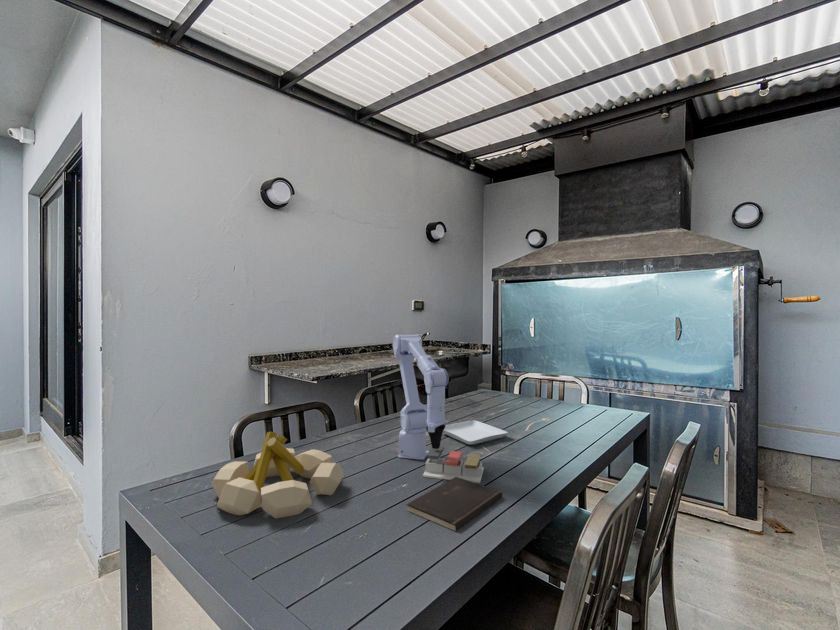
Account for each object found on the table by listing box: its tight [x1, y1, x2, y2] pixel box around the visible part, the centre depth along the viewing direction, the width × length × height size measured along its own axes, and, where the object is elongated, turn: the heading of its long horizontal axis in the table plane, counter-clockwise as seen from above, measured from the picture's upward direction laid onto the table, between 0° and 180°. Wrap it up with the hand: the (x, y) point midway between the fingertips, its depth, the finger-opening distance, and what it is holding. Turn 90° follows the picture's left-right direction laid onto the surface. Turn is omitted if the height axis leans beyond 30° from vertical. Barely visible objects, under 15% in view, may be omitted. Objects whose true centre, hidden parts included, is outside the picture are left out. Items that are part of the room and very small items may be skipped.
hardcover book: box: [405, 477, 503, 533], centre depth 114 cm, size 16×23×2 cm
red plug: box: [446, 450, 463, 466], centre depth 135 cm, size 4×10×4 cm, turn 165°
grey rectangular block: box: [426, 445, 445, 464], centre depth 136 cm, size 4×10×4 cm, turn 166°
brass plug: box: [465, 453, 481, 469], centre depth 133 cm, size 4×10×4 cm, turn 165°
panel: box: [422, 457, 485, 484], centre depth 135 cm, size 18×11×3 cm, turn 76°
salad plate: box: [443, 419, 509, 446], centre depth 172 cm, size 21×21×3 cm
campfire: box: [210, 431, 345, 519], centre depth 121 cm, size 35×34×17 cm
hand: (435, 448), depth 136 cm, fingers closed
